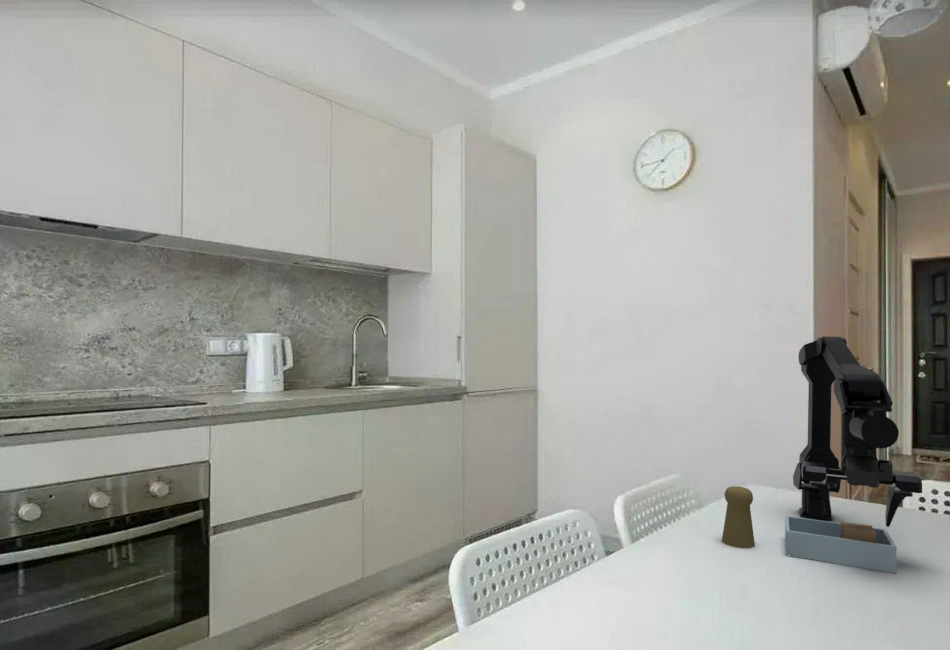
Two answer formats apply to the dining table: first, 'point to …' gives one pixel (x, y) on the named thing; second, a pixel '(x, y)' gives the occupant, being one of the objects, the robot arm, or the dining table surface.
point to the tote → (838, 545)
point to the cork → (738, 518)
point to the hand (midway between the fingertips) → (858, 522)
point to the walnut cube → (858, 532)
